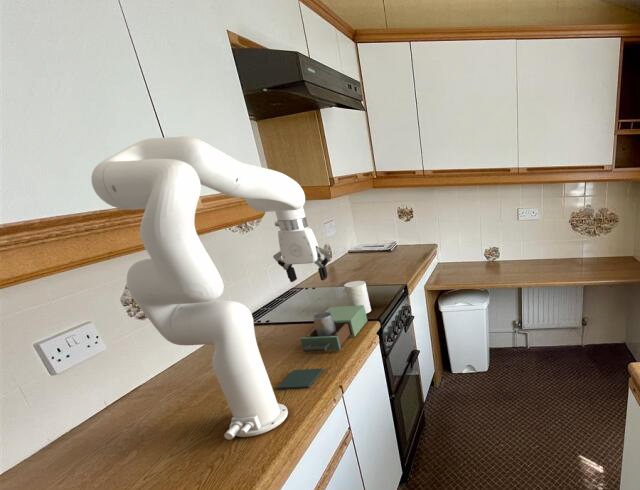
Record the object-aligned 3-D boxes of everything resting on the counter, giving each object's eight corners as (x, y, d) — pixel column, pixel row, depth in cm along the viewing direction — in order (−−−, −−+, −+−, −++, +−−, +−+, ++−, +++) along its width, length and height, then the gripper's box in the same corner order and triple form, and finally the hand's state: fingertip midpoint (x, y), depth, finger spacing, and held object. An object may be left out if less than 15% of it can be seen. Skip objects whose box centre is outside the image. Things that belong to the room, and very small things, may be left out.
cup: (346, 314, 165) (339, 286, 160) (357, 307, 173) (351, 280, 167) (364, 315, 164) (357, 287, 158) (374, 308, 171) (369, 281, 166)
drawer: (334, 356, 130) (330, 343, 127) (297, 358, 130) (293, 345, 128) (353, 333, 146) (350, 320, 144) (321, 334, 146) (317, 322, 144)
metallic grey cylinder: (334, 343, 136) (327, 318, 133) (316, 343, 136) (309, 319, 133) (340, 335, 142) (334, 311, 138) (323, 336, 142) (317, 312, 138)
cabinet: (354, 336, 145) (350, 319, 142) (318, 338, 145) (313, 321, 142) (367, 320, 158) (364, 305, 156) (334, 322, 158) (330, 306, 156)
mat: (308, 387, 115) (308, 386, 114) (277, 389, 115) (276, 387, 114) (323, 370, 124) (322, 368, 123) (294, 371, 124) (293, 369, 123)
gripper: (257, 228, 117) (275, 285, 125) (317, 225, 117) (331, 282, 124) (271, 224, 124) (287, 277, 131) (327, 220, 124) (340, 275, 131)
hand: (309, 280), depth 128 cm, fingers open, 9 cm apart
